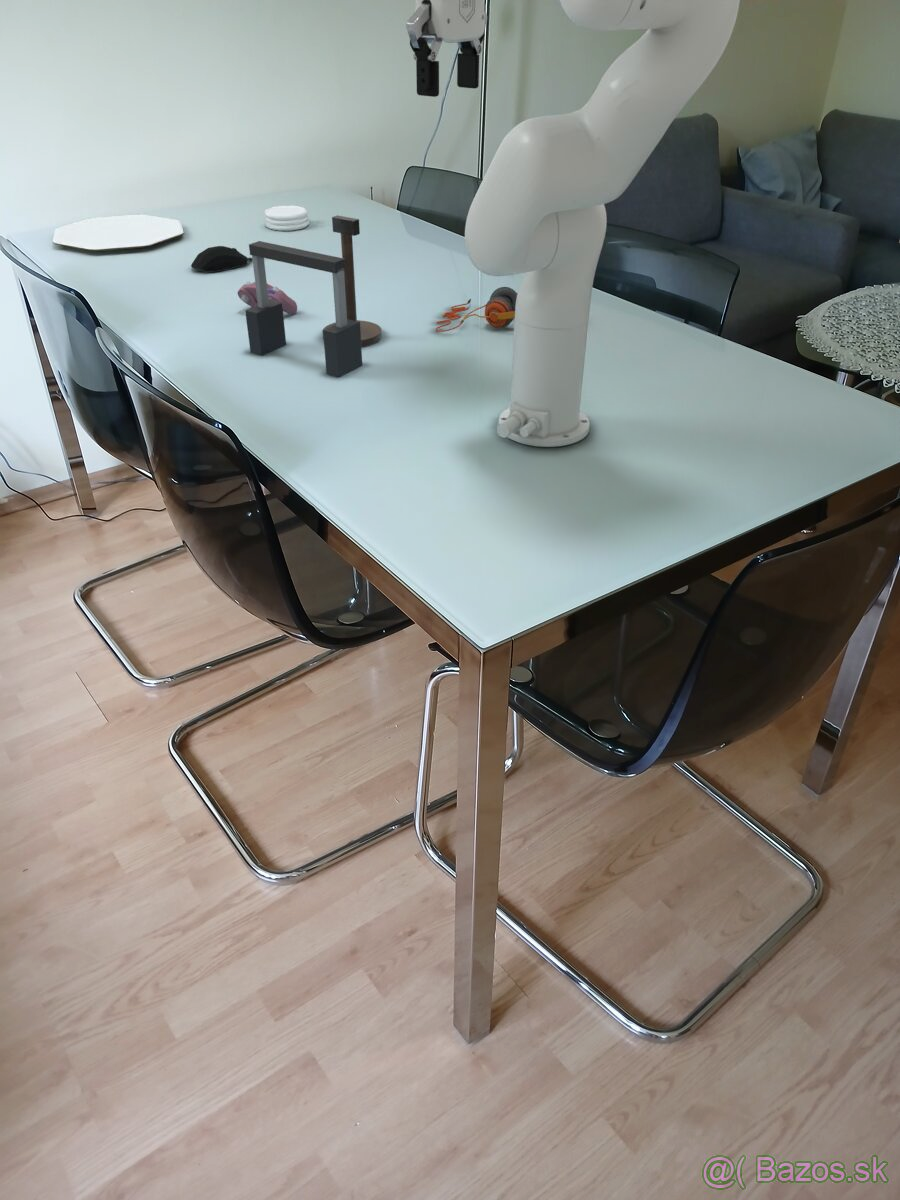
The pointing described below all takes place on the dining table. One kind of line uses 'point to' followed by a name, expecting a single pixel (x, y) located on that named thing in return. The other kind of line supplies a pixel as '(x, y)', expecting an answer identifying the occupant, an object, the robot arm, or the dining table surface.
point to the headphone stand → (348, 229)
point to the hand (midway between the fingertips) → (448, 91)
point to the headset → (268, 315)
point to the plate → (117, 232)
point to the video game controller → (274, 293)
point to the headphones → (489, 309)
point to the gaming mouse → (219, 259)
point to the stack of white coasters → (286, 218)
